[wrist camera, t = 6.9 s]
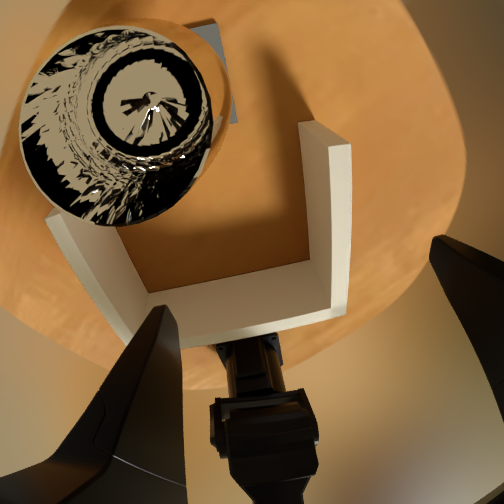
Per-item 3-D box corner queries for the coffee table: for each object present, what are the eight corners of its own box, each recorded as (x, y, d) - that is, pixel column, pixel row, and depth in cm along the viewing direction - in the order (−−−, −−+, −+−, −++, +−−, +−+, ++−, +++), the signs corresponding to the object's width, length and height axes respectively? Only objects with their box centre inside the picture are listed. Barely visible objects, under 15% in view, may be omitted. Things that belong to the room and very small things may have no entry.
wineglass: (107, 89, 14) (-26, 152, 4) (178, 22, 12) (118, -45, 3) (170, 149, 17) (122, 282, 8) (242, 89, 15) (297, 138, 6)
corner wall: (323, 267, 25) (345, 314, 21) (141, 304, 25) (133, 355, 21) (315, 119, 17) (350, 143, 13) (78, 179, 17) (44, 219, 13)
